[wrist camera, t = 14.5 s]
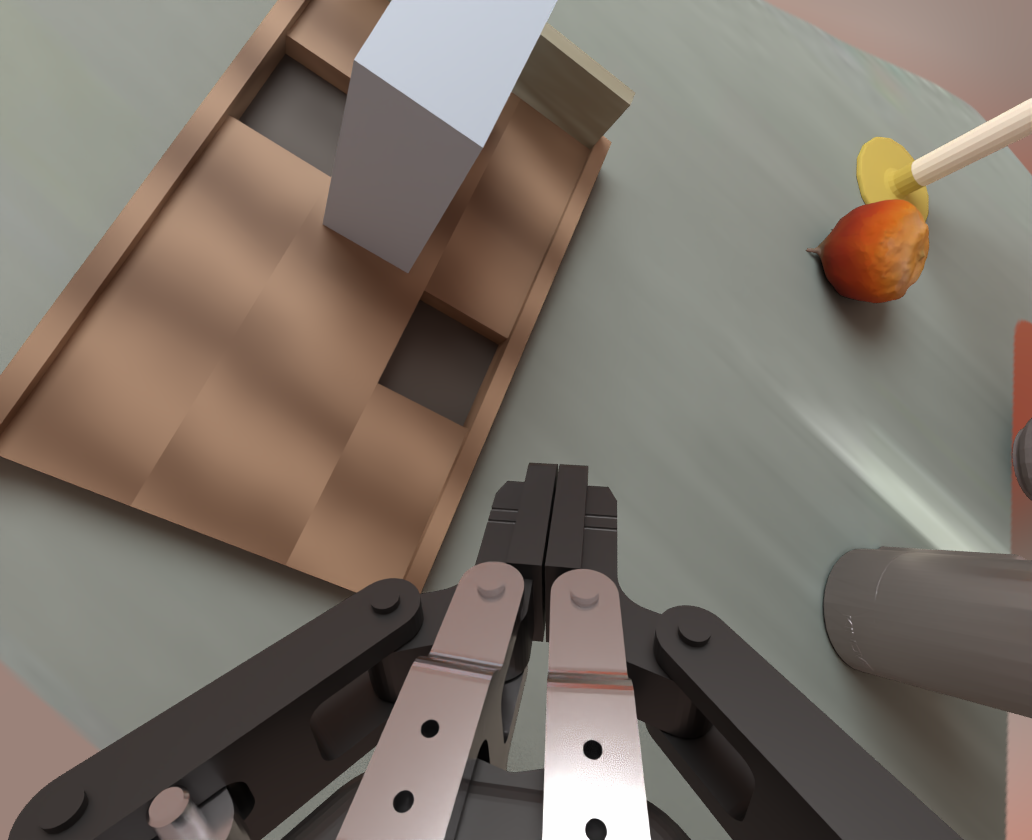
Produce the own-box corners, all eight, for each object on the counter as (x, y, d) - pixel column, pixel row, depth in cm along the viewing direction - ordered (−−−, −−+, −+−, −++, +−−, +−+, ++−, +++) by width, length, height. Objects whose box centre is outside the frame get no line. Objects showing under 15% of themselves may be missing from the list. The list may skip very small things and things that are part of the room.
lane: (326, -36, 34) (337, -146, 28) (594, 160, 40) (648, 103, 34) (-21, 445, 24) (-109, 425, 18) (402, 607, 30) (432, 630, 24)
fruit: (833, 182, 48) (947, 178, 42) (835, 262, 53) (937, 268, 47) (792, 234, 45) (909, 237, 39) (797, 314, 50) (902, 327, 44)
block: (415, 65, 33) (487, -151, 22) (488, 116, 35) (588, -63, 24) (322, 224, 30) (354, 59, 19) (408, 273, 31) (483, 147, 20)
